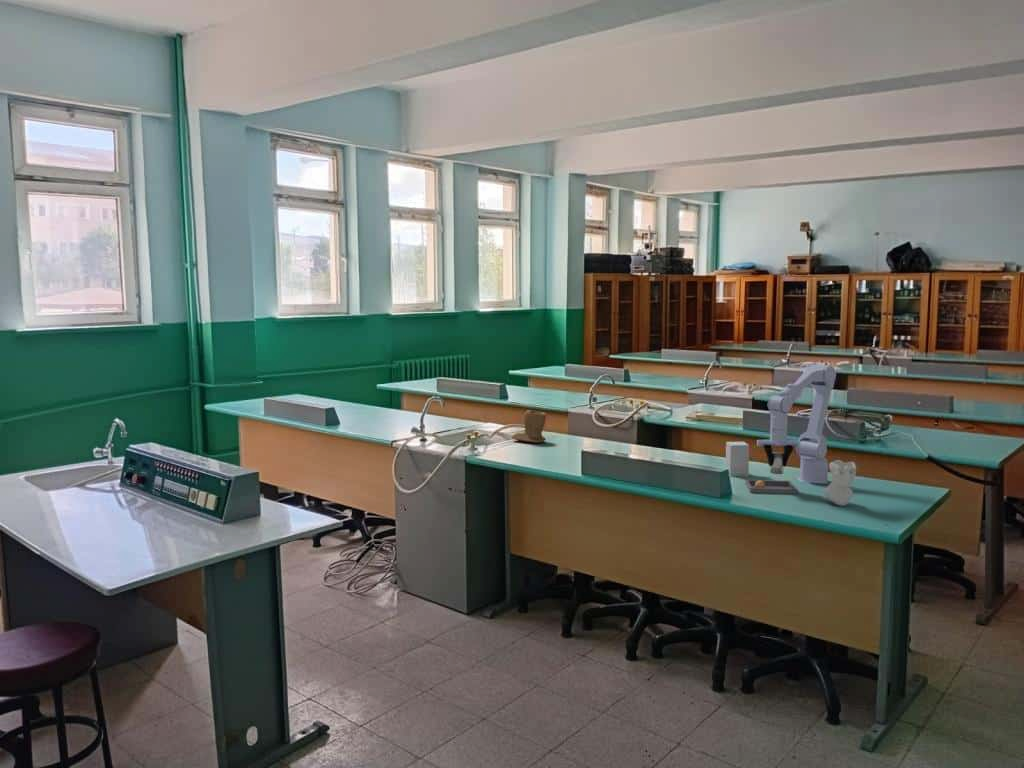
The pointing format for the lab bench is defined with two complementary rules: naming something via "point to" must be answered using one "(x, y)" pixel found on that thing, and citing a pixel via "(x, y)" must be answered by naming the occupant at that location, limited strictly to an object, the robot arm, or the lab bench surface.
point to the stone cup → (532, 427)
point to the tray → (772, 487)
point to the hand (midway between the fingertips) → (777, 465)
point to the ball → (760, 484)
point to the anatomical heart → (841, 482)
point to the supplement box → (737, 458)
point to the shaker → (777, 463)
